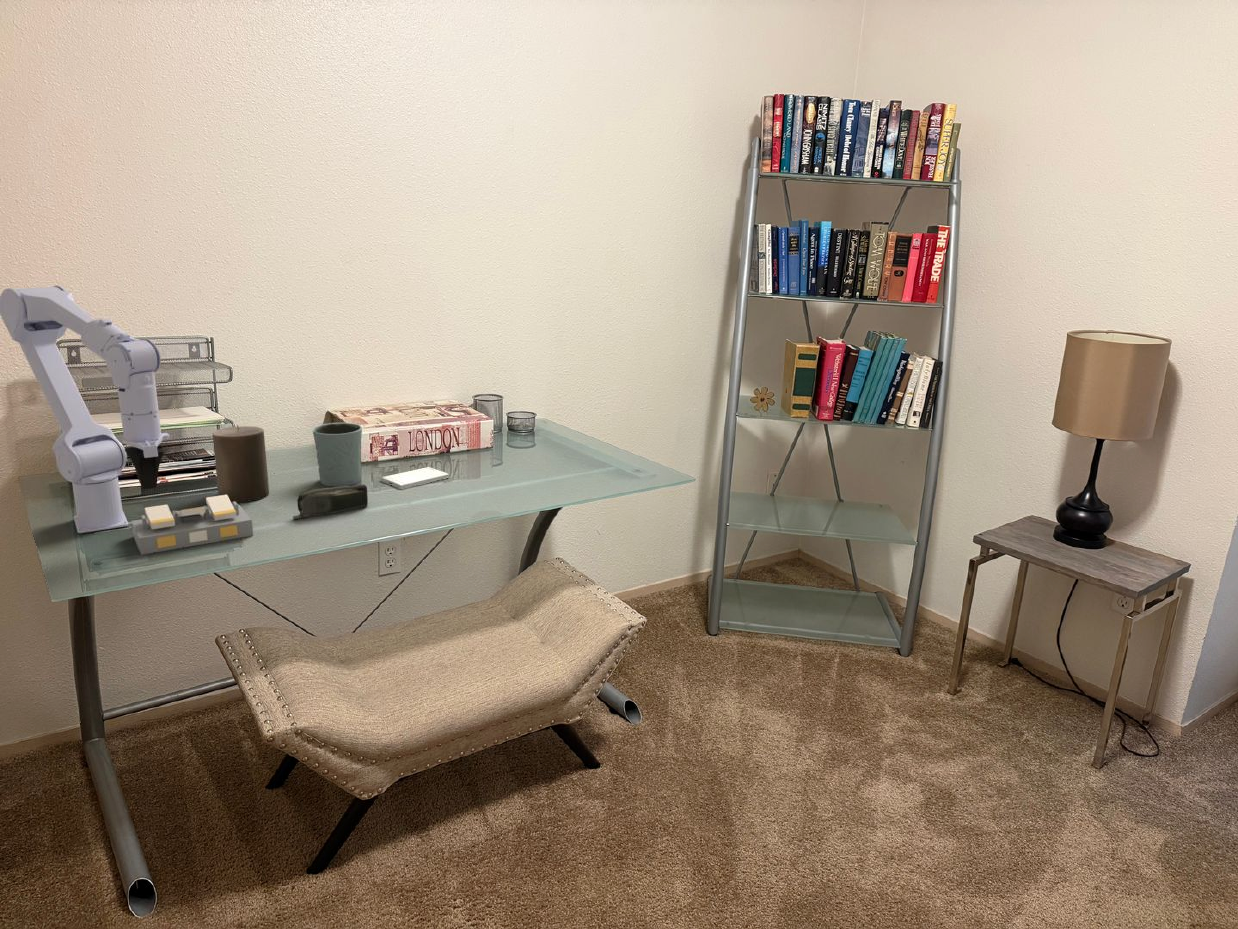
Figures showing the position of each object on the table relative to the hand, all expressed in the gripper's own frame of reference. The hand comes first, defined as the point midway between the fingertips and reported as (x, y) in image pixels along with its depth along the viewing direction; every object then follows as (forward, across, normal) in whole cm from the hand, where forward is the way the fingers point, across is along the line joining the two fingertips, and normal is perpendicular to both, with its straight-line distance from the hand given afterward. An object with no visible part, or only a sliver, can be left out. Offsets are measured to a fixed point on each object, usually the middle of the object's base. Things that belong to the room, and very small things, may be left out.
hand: (149, 487), depth 151 cm
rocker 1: (+5, -2, -1) cm, 5 cm away
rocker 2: (+5, -2, -6) cm, 8 cm away
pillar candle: (+10, +17, -19) cm, 28 cm away
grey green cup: (+10, +17, -39) cm, 44 cm away
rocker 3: (+5, -2, -11) cm, 12 cm away
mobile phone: (+10, -2, -31) cm, 32 cm away
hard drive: (+10, +10, -53) cm, 55 cm away
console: (+10, -2, -6) cm, 11 cm away
